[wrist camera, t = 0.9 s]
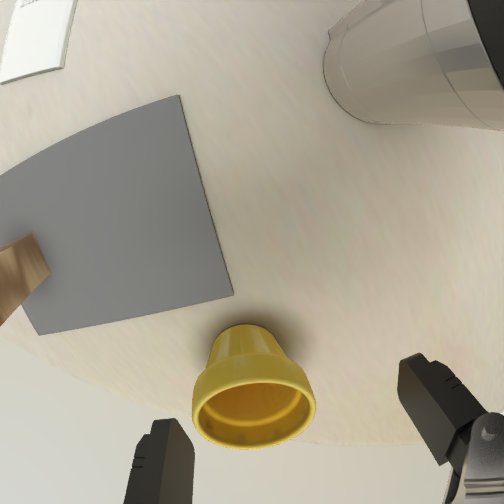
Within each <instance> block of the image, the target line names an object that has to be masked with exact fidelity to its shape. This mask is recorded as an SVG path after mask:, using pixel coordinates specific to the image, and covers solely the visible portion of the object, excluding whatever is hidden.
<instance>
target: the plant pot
mask: <svg viewBox="0 0 504 504" xmlns="http://www.w3.org/2000/svg"><path fill="white" fill-rule="evenodd" d="M315 412H316V401H315V398H314V395H313V392H312V389H311V386H310V384H309V381H308V379H307V377H306V374H305V373H304V371H303V370H302V368H301V367H300V366H299V365H298V364H297V363H295V362H294V361H292V360H290V359H289V358H288V357H287V356H286V355H285V353H284V352H283V350H282V349H281V347H280V346H279V344H278V343H277V341H276V340H275V338H274V337H273V335H272V334H271V333H270V332H269V331H267V330H266V329H264V328H262V327H260V326H256V325H251V324H243V325H237V326H233V327H230V328H228V329H226V330H225V331H223V332H222V333H221V334H220V335H219V336H218V337H217V338H216V340H215V342H214V344H213V348H212V351H211V354H210V357H209V360H208V363H207V367H206V369H205V370H204V371H203V372H202V373H201V375H200V376H199V377H198V379H197V381H196V383H195V386H194V391H193V399H192V420H193V424H194V426H195V428H196V429H197V431H198V432H199V433H200V434H201V435H202V436H203V437H204V438H205V439H207V440H208V441H210V442H212V443H214V444H217V445H219V446H222V447H226V448H232V449H244V450H249V449H261V448H266V447H271V446H274V445H278V444H281V443H283V442H286V441H288V440H290V439H292V438H294V437H295V436H297V435H298V434H300V433H301V432H302V431H303V430H304V429H305V428H306V427H307V426H308V425H309V424H310V423H311V421H312V420H313V418H314V415H315Z"/></svg>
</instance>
